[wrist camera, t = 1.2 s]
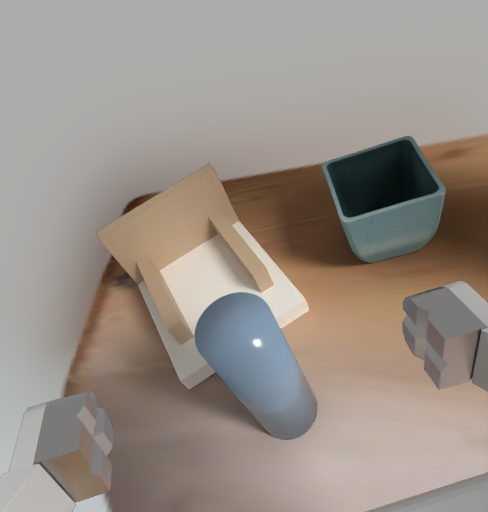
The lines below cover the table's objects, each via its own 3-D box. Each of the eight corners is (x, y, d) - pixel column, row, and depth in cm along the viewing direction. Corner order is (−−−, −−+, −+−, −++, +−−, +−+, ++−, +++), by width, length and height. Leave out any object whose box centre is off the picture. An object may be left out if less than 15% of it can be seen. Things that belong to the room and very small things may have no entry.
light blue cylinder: (296, 368, 39) (248, 278, 29) (329, 416, 35) (288, 332, 25) (248, 401, 38) (183, 321, 28) (277, 452, 35) (214, 382, 25)
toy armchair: (238, 225, 53) (209, 163, 46) (309, 310, 42) (284, 245, 35) (142, 286, 52) (96, 231, 45) (189, 389, 41) (137, 340, 34)
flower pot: (334, 223, 48) (320, 161, 42) (413, 200, 47) (411, 133, 40) (354, 283, 42) (341, 222, 36) (445, 260, 41) (448, 191, 34)
